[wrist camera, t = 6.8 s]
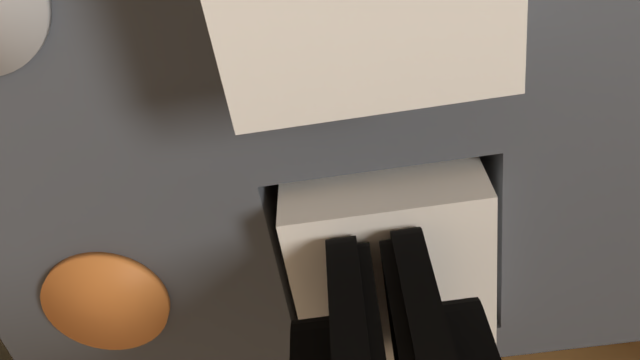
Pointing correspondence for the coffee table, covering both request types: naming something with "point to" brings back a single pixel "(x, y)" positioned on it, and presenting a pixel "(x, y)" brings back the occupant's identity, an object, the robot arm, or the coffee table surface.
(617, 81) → the button board
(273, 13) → the button middle
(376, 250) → the button
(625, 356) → the coffee table surface
